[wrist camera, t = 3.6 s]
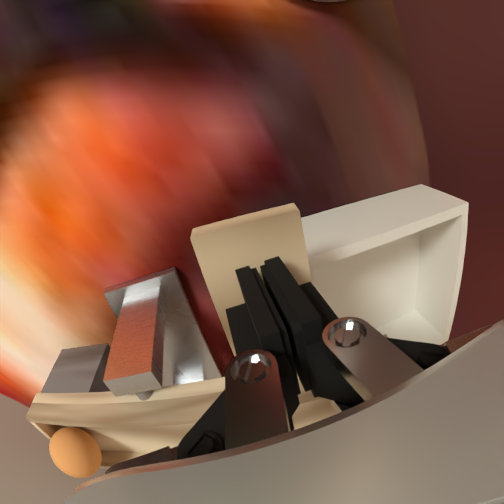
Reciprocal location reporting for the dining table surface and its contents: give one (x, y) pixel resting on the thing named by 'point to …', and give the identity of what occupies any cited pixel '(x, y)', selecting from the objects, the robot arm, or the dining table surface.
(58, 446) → the ball
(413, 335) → the bin
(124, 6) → the dining table surface
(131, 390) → the lever stand
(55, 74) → the dining table surface
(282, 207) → the lever
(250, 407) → the robot arm
